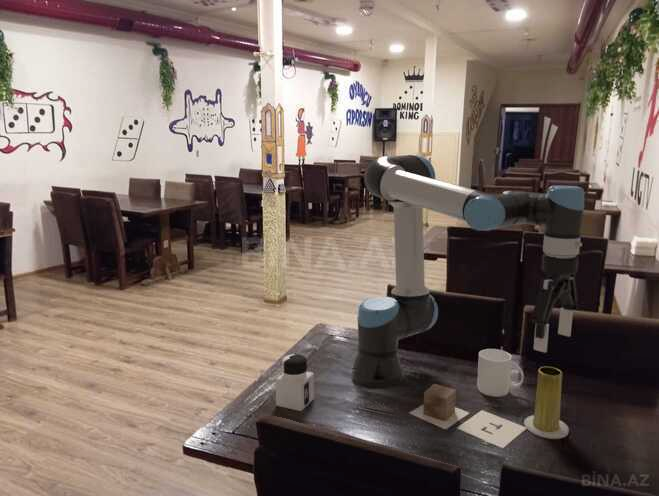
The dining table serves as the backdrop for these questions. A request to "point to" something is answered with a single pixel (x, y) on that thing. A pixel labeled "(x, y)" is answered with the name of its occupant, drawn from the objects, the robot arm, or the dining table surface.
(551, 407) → the vase
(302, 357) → the container
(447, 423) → the plate
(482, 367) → the mug
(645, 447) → the dining table surface
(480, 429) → the plate
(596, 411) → the dining table surface
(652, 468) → the dining table surface
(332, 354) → the dining table surface
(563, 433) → the white round coaster
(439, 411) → the walnut block
